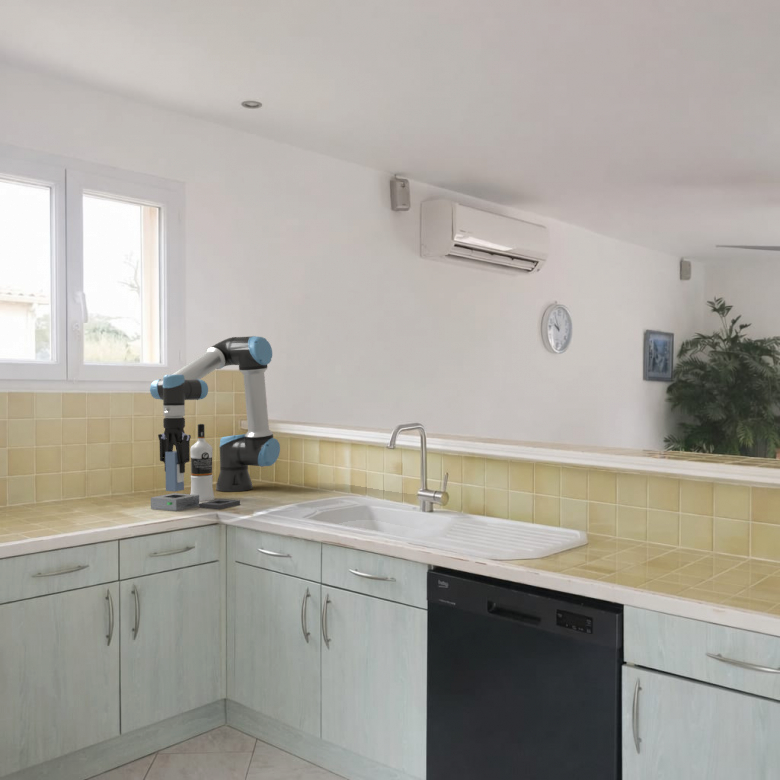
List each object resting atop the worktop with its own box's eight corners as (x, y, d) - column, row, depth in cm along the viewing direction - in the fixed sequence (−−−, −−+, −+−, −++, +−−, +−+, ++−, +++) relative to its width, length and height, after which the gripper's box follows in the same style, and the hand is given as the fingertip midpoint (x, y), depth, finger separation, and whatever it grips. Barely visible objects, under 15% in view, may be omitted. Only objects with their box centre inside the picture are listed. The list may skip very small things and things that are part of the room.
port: (174, 506, 299) (174, 493, 299) (199, 508, 294) (199, 495, 293) (149, 511, 288) (149, 497, 288) (174, 514, 282) (174, 500, 282)
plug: (174, 489, 294) (174, 450, 294) (183, 489, 292) (183, 451, 291) (165, 490, 290) (165, 451, 290) (175, 491, 288) (174, 452, 287)
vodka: (211, 499, 316) (210, 422, 315) (216, 502, 308) (216, 424, 307) (187, 501, 312) (186, 423, 311) (192, 504, 303) (191, 425, 303)
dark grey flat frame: (220, 505, 300) (220, 498, 300) (240, 507, 296) (240, 500, 296) (199, 510, 290) (199, 503, 290) (218, 512, 286) (218, 505, 285)
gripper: (148, 417, 291) (149, 481, 292) (185, 418, 283) (186, 484, 283) (163, 416, 298) (163, 479, 298) (200, 417, 290) (200, 481, 290)
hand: (174, 481), depth 291 cm, fingers closed on plug, 4 cm apart
